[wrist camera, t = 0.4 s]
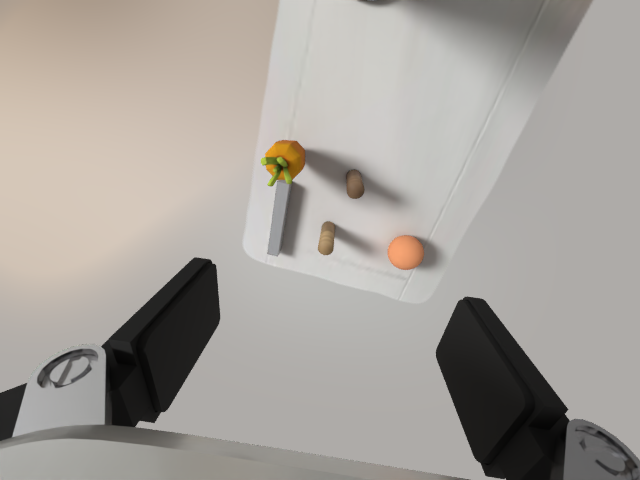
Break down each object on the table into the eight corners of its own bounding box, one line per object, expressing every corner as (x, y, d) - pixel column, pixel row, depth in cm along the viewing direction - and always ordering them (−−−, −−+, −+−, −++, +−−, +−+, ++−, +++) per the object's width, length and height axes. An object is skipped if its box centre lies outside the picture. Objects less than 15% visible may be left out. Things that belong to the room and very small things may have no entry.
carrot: (316, 160, 42) (303, 183, 28) (289, 170, 43) (264, 197, 30) (305, 129, 40) (285, 138, 26) (276, 141, 41) (244, 156, 28)
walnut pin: (348, 168, 42) (349, 179, 35) (362, 171, 42) (366, 183, 35) (344, 182, 43) (344, 196, 36) (358, 185, 43) (361, 200, 36)
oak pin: (323, 220, 46) (319, 240, 39) (336, 223, 46) (334, 243, 39) (320, 231, 47) (316, 253, 40) (333, 234, 48) (331, 256, 40)
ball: (391, 226, 46) (398, 241, 40) (424, 234, 46) (434, 250, 41) (381, 254, 49) (385, 272, 43) (411, 261, 49) (419, 280, 43)
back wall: (280, 177, 44) (277, 181, 41) (292, 180, 44) (289, 184, 41) (270, 247, 50) (267, 254, 48) (280, 249, 50) (277, 256, 48)
